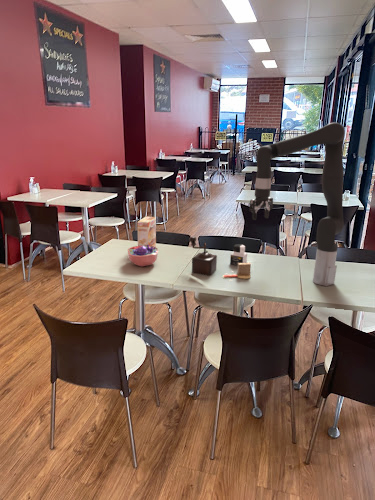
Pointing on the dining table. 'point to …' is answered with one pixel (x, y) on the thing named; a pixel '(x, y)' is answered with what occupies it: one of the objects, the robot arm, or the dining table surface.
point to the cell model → (143, 255)
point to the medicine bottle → (238, 255)
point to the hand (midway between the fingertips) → (260, 218)
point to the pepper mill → (203, 260)
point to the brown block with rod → (242, 271)
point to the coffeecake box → (147, 231)
